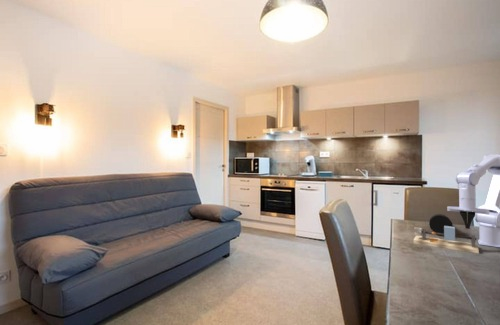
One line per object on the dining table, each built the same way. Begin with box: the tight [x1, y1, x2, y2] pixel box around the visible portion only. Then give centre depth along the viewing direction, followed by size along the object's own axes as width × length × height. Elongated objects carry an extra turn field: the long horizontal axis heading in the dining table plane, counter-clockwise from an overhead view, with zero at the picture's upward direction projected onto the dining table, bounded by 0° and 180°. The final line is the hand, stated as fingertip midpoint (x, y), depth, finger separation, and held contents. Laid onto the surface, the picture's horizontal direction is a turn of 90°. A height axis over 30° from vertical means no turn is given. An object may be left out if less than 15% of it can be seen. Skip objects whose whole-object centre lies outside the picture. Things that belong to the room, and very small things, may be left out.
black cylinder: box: [428, 213, 454, 234], centre depth 151 cm, size 10×34×10 cm, turn 142°
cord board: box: [412, 226, 480, 254], centre depth 122 cm, size 24×10×6 cm, turn 52°
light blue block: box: [443, 226, 456, 241], centre depth 121 cm, size 4×4×6 cm
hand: (467, 228), depth 117 cm, fingers closed
